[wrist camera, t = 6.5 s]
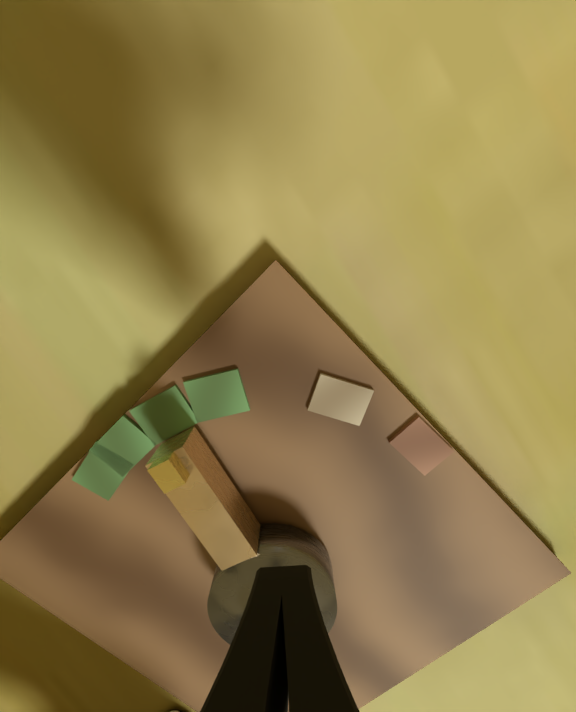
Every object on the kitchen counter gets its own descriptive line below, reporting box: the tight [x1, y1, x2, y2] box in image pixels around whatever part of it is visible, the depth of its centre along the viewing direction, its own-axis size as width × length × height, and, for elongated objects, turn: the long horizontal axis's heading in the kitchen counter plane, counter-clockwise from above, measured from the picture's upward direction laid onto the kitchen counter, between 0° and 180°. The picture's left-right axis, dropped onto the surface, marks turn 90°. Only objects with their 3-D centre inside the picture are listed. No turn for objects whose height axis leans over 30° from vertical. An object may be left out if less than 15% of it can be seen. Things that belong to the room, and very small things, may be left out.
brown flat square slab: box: [0, 260, 571, 712], centre depth 18 cm, size 22×22×1 cm
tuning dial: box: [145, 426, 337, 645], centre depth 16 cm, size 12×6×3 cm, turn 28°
